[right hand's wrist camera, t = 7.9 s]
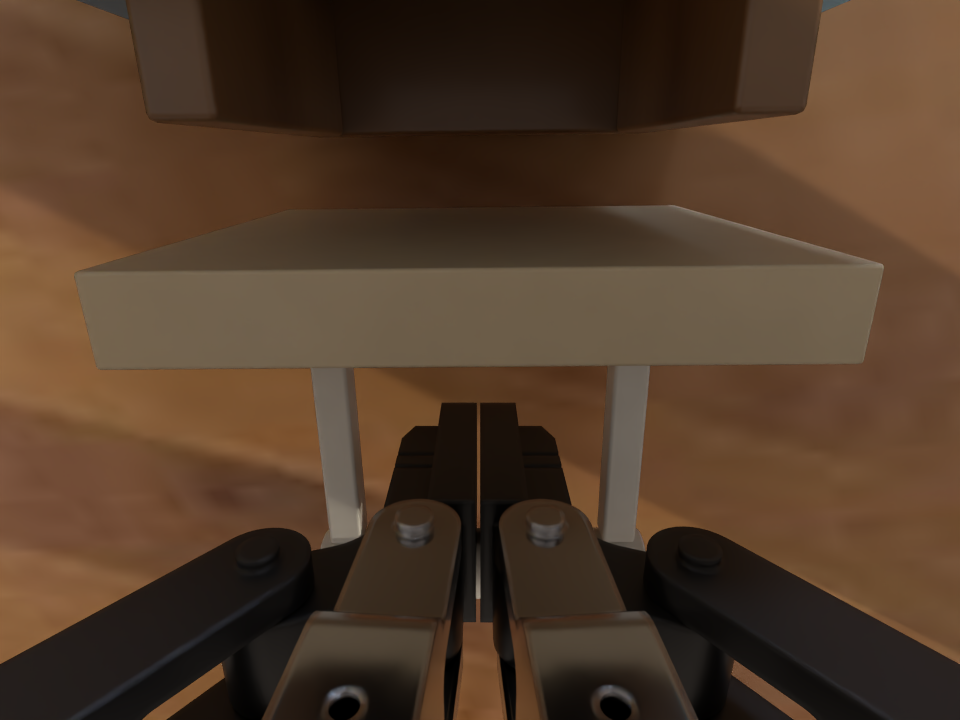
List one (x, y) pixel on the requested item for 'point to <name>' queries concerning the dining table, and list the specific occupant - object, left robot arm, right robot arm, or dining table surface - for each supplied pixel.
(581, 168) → the dining table surface
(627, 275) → the drawer
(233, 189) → the dining table surface
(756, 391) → the dining table surface
